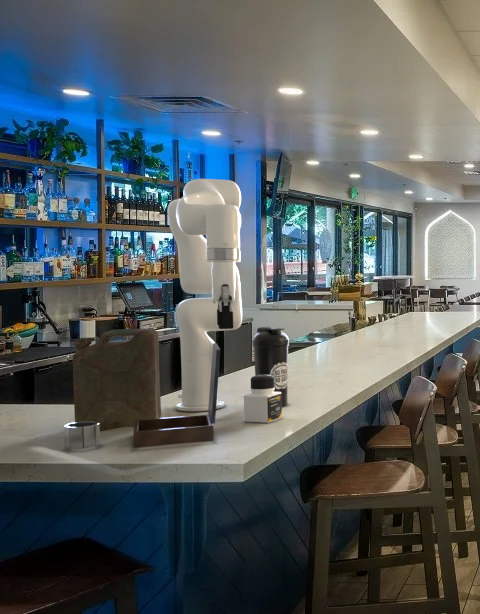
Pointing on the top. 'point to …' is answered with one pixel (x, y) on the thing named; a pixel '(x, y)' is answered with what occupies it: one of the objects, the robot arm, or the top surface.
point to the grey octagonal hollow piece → (82, 434)
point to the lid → (214, 383)
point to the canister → (117, 378)
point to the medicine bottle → (262, 400)
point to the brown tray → (172, 430)
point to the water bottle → (272, 357)
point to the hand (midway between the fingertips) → (225, 326)
